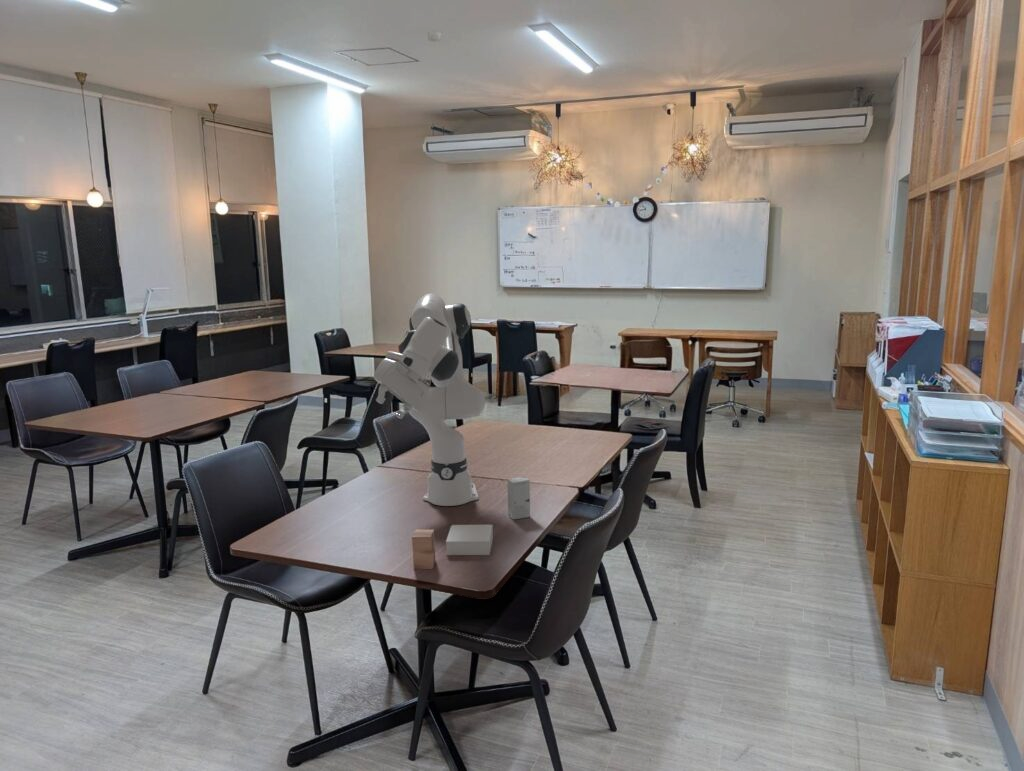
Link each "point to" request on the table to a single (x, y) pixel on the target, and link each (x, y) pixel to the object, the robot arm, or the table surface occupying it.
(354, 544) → the table surface
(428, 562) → the terracotta block
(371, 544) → the table surface
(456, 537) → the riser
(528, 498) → the skincare box
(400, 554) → the table surface
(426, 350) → the robot arm
